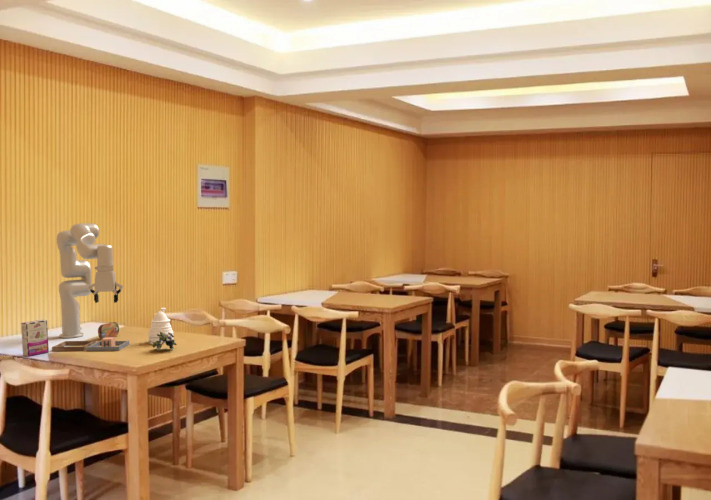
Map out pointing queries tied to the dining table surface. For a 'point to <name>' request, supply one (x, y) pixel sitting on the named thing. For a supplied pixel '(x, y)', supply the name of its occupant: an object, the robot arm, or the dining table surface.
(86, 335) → the dining table surface
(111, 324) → the tin
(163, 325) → the honey pot
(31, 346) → the candy bar box
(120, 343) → the grey frame
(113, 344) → the letter cube
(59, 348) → the walnut frame
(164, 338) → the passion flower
